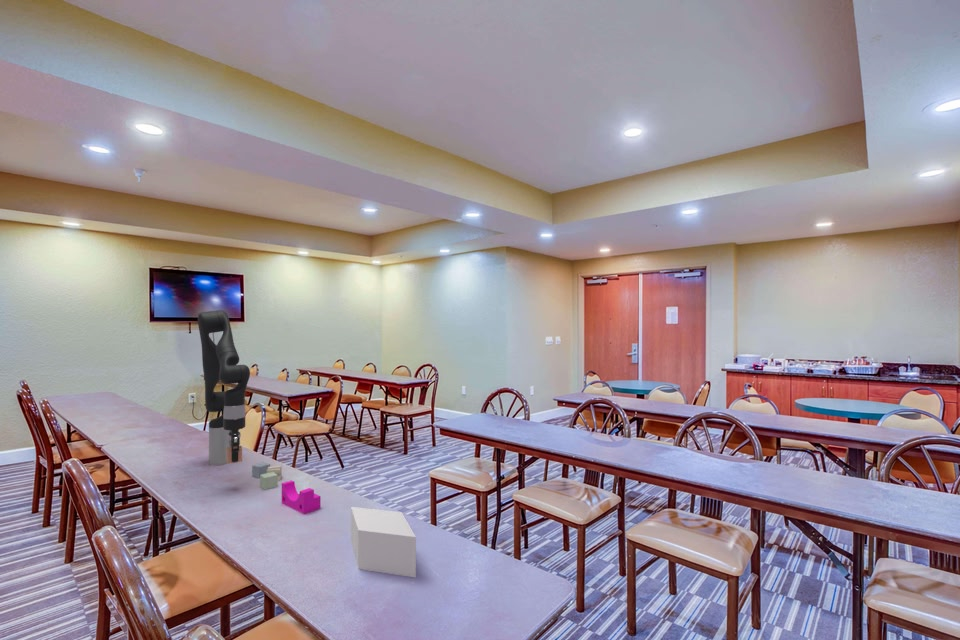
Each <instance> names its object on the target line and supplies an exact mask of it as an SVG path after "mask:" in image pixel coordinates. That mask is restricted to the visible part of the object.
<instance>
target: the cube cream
mask: <svg viewBox="0 0 960 640" xmlns="http://www.w3.org/2000/svg"><path fill="white" fill-rule="evenodd" d="M282 469H283V468H282V465H273V466H270V467H268V469H267V473H271V472H274V473H275V474H277V475H278V482H280V481H281V480H282Z"/></svg>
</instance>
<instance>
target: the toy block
mask: <svg viewBox="0 0 960 640" xmlns="http://www.w3.org/2000/svg"><path fill="white" fill-rule="evenodd" d="M321 499H322V498H321V495H319V494H316V493H315V489H314V488H312V487H308V488H305V489H302V490H300V491H299V493H298V491H297V488H296V484H295V480H292V479H291V480H288V481H284V482H281V504H282V505H284V506H287V507H289V508H291V509H292V510H294V511H296V512H299V513H301V514H303V515H305V514H308V513H311V512H314V511H317V510H319V509H321Z"/></svg>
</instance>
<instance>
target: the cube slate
mask: <svg viewBox="0 0 960 640" xmlns="http://www.w3.org/2000/svg"><path fill="white" fill-rule="evenodd" d="M268 467H271V464H270V463H267V462H264V461H263V462H260V463H256V464H252V468H251V471H252V472H251V476H252V477H253V478H256V479H260V475H262V474H266V473H267V469H268Z"/></svg>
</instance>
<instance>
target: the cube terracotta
mask: <svg viewBox="0 0 960 640" xmlns="http://www.w3.org/2000/svg"><path fill="white" fill-rule="evenodd" d="M235 448H237V446H235V447H233V449H235ZM235 463H243V448H242V445H239V452H238V461H237V462H232V453H231V447H227V464H226V465H228V464H235Z"/></svg>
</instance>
